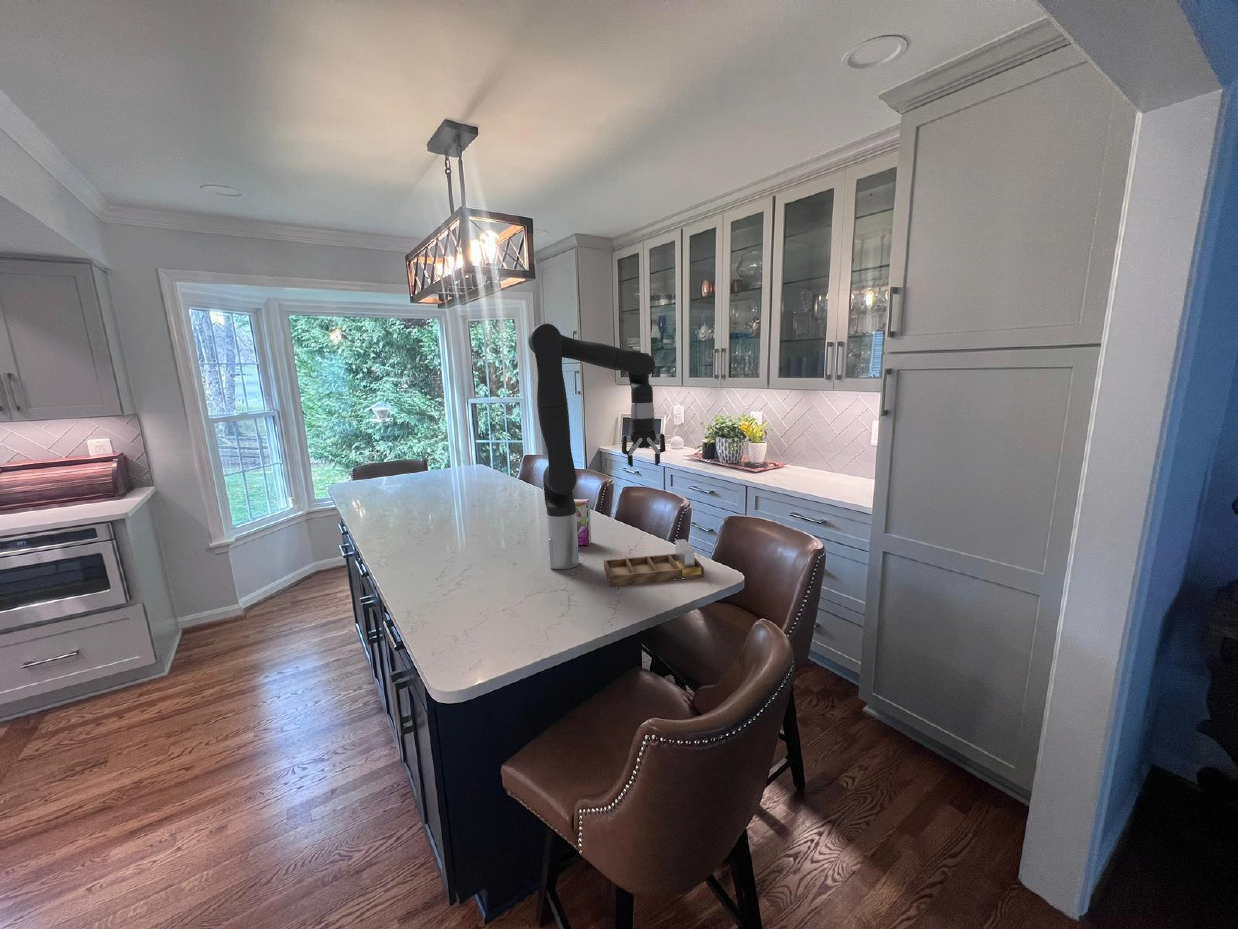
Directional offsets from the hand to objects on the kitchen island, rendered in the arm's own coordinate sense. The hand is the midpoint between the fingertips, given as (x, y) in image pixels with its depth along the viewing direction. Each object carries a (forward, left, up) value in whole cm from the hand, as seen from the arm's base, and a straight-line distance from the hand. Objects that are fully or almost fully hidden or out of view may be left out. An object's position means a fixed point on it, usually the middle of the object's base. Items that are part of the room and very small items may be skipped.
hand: (644, 465), depth 164 cm
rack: (-2, -18, -30) cm, 35 cm away
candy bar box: (-23, +16, -30) cm, 41 cm away
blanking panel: (+8, -18, -29) cm, 35 cm away
